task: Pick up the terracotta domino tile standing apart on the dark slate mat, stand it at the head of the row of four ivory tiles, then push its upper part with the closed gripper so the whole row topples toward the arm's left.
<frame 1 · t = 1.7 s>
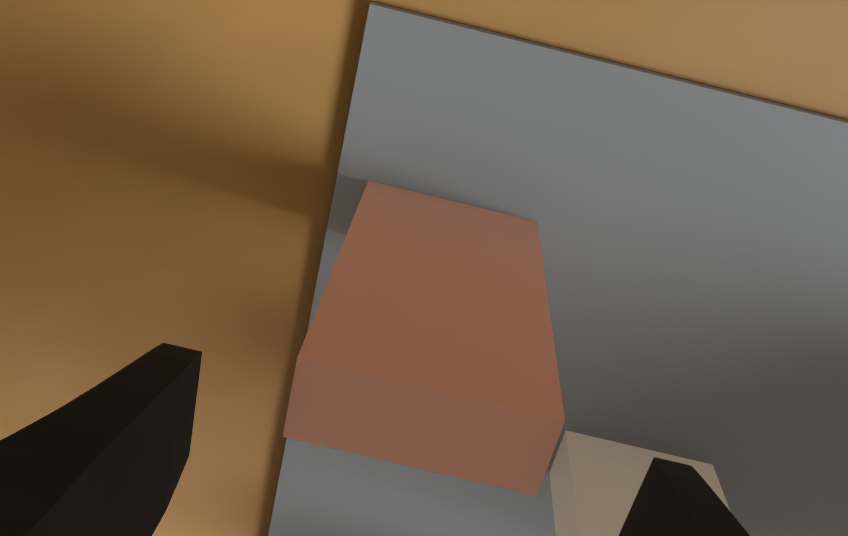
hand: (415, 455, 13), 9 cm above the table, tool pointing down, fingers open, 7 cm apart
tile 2: (630, 468, 24), resting on mat
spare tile: (445, 229, 21), resting on mat
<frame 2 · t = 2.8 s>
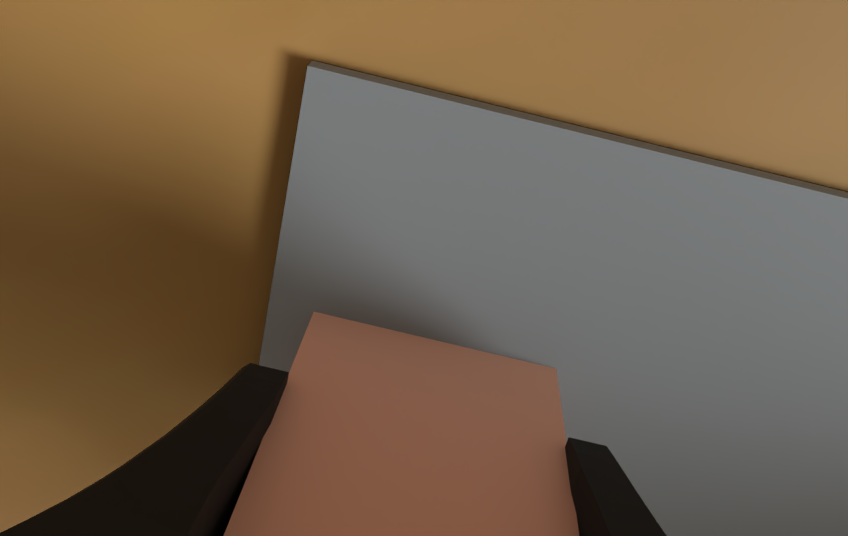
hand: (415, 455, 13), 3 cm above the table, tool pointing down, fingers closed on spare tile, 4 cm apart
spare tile: (425, 377, 15), resting on mat, touching gripper
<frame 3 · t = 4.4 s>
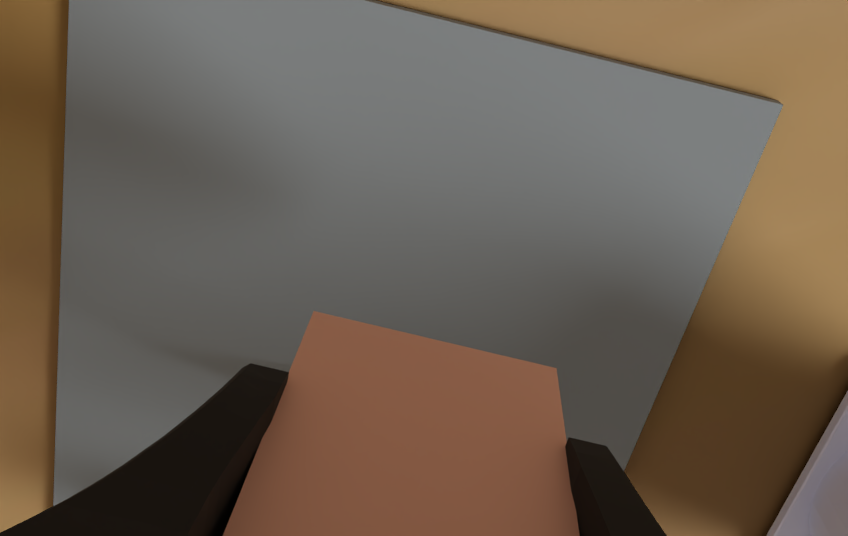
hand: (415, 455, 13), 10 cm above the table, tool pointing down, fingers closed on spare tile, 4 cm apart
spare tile: (425, 376, 15), point 8 cm above the table, touching gripper
when the fingers open (3 cm above the table, at t = 6.1 s): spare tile stays where it is, resting on mat.
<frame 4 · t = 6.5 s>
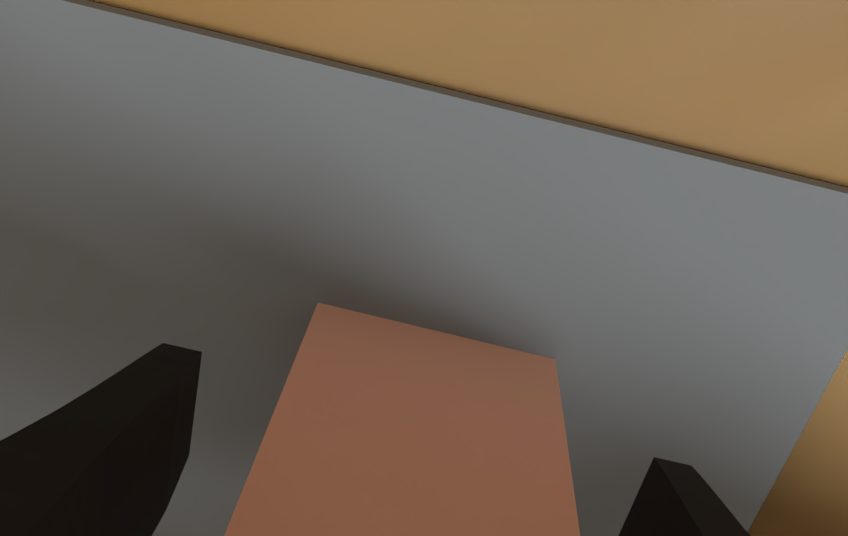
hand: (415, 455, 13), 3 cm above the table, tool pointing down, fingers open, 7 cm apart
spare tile: (427, 367, 15), resting on mat
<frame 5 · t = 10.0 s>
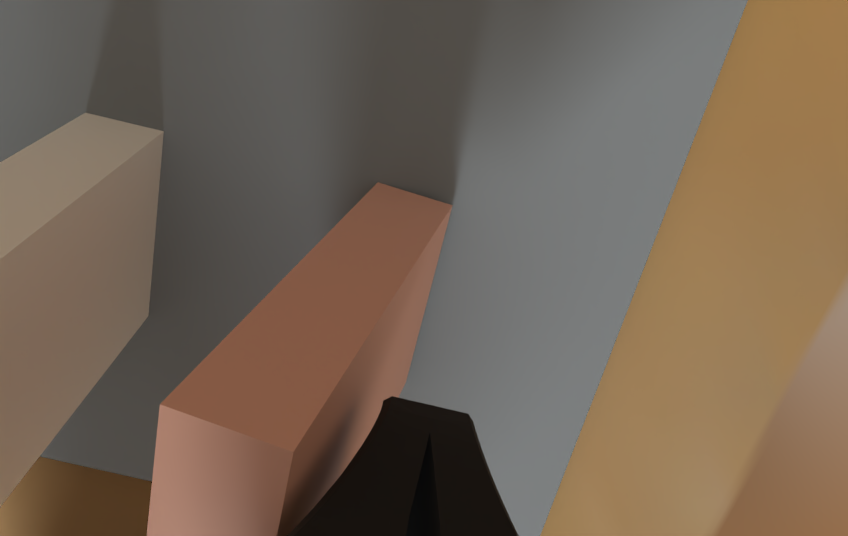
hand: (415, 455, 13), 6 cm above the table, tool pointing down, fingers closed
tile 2: (118, 220, 17), resting on mat
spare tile: (392, 287, 17), point 1 cm above the table, tilted 10°, touching gripper, mat
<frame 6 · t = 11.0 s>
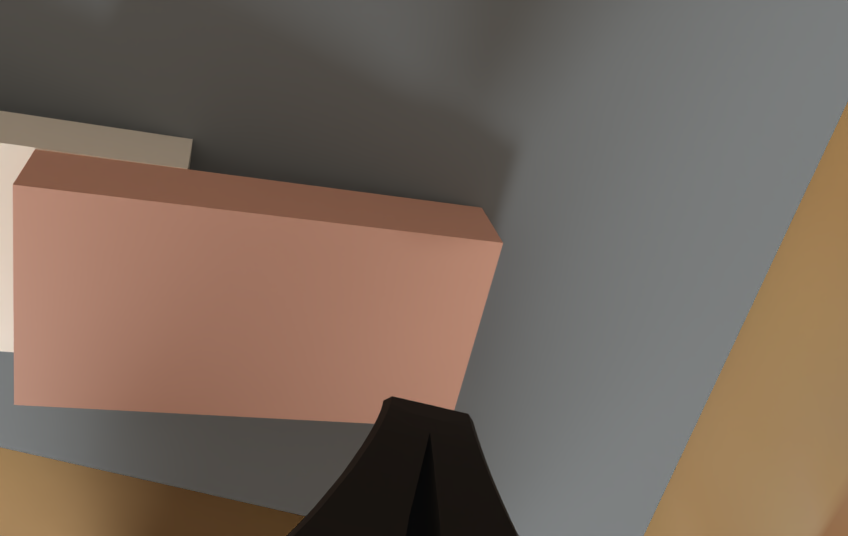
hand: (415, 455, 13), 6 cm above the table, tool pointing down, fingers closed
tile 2: (179, 253, 17), point 1 cm above the table, tilted 75°, touching mat, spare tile, tile 3
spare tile: (465, 319, 17), point 1 cm above the table, tilted 75°, touching mat, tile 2
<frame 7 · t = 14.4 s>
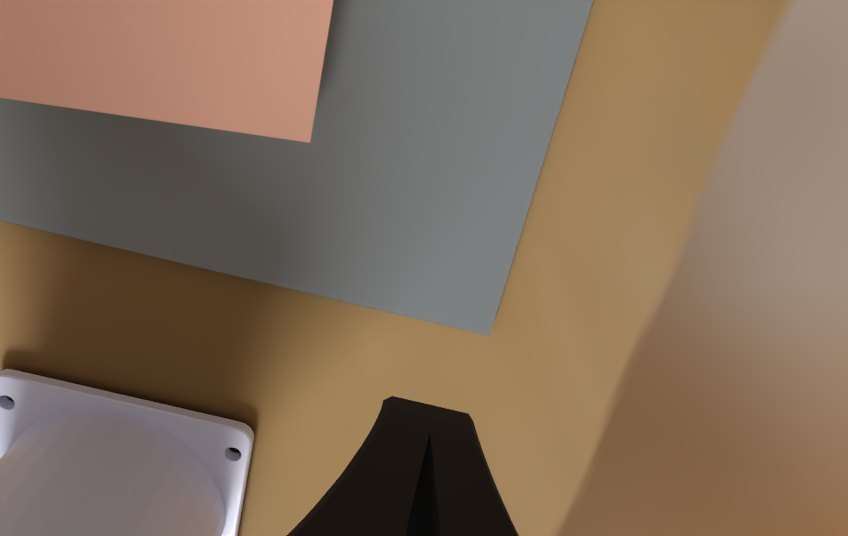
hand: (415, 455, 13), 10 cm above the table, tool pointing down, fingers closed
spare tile: (322, 40, 19), point 1 cm above the table, tilted 75°, touching mat, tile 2
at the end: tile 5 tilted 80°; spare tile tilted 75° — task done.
